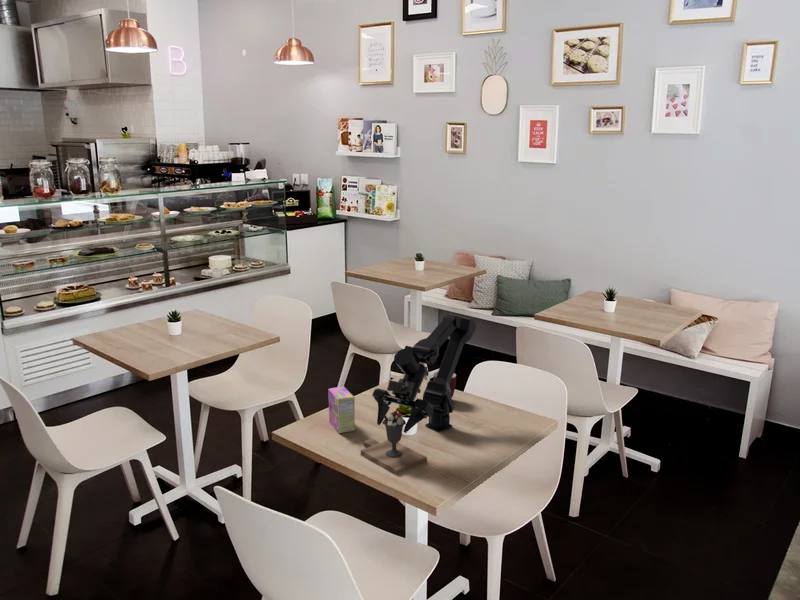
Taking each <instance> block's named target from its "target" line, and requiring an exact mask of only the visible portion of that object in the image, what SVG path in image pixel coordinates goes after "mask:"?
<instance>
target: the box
mask: <svg viewBox="0 0 800 600" xmlns="http://www.w3.org/2000/svg"><path fill="white" fill-rule="evenodd" d="M327 391H328V415H329V416H328V417H329V419H328V420H329V423H330V424H331V426H333V428H334V429H335V431H336V432H337V433H338V434H342V433H348V432H354V431H356V421H355V419H356V416H355V414H356V410H355V405H356V404H355V400H356V399H355V396H354V395H353V394H352V393H351V392H350V391H349V390H348V389H347V388H346V387H345V386H338V387H331V388H328V390H327Z"/></svg>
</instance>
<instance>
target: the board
mask: <svg viewBox="0 0 800 600" xmlns="http://www.w3.org/2000/svg"><path fill="white" fill-rule="evenodd" d="M363 447H364V448H363V449H360V456H362V457H363V456H364V458H365V457H366V458H365V459H367V460H369V461H371V462H372V463H375V464H376V465H378V466H380V467H381V468H383V469H385V470H387V471H389V472H390V473H391V474H394V475H396V476H398V475H400V474H402V473H404V472H406V471H408V470H411V469H413V468H416V467H418V466H421V465H423V464H426V463H427V462H428V457H427V456H426V455H424V454H422V453H420V452H418V451H415V450H414V449H412V448H410V447H408V446H406V445H404V444H402V443H400V442H398V443H396V449H397V450H399V451H401V452H402V455H401V456H400V457H396V458H392V457H388V456H387V455H386V452H387V451H389V450H391V449H392V443H391V442H389V440H388V439H387V440H384V441H380V442H379V441H378V440H375V439H374V438H369V439H367V440H364V441H363Z"/></svg>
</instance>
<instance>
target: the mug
mask: <svg viewBox="0 0 800 600" xmlns="http://www.w3.org/2000/svg"><path fill="white" fill-rule="evenodd" d="M437 374H438V371H436V372H434V373H433V380H435V379H436V376H437ZM456 383H457V374H456V373H455V372H454V373H453V376H452V379H451V382H450V389H451V397H450V398H451V399H452V398H453V397H454V395H455V390H456V386H457V384H456ZM452 400H453V399H452Z"/></svg>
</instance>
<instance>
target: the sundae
mask: <svg viewBox="0 0 800 600" xmlns="http://www.w3.org/2000/svg"><path fill="white" fill-rule="evenodd" d="M401 408H403V405H399V407H398V409H396V410H394V411H393V412H390V413H389V415H388V416H387V415H386V416H385V415H384V419H383V421H382V423H381V424H383V425H384V427H385V431H386V433H385V434H386V439H387V440H389V442H391V443H392V449H391V450H389V451H387V452H386V455H387V456H388V457H392V458H396V457H400V456H401V455H402V452H401V451H399V450H397V449H396V443H400V441H401V439H402V435H403V430H404V427H405V425H406V423H407V422H406V421H405V419H404V418H403V416H402V415H403V414H402V413H401Z"/></svg>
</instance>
